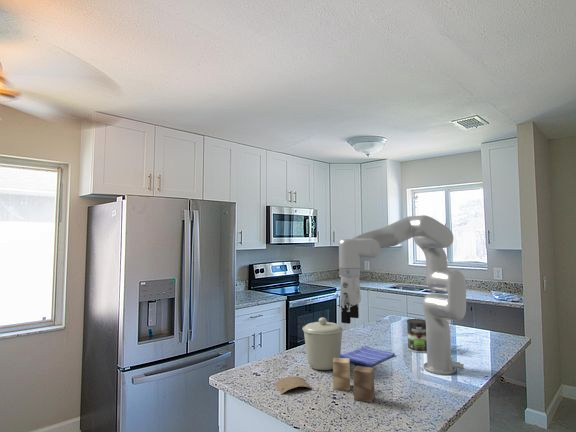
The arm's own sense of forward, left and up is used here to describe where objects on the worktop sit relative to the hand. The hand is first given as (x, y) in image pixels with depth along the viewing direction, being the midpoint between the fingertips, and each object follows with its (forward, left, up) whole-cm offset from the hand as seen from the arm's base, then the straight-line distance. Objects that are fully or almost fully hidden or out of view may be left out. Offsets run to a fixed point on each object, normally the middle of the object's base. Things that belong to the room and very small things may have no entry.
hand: (350, 320), depth 131 cm
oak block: (+5, -5, -26) cm, 27 cm away
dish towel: (+5, -42, -27) cm, 50 cm away
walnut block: (-5, +1, -26) cm, 27 cm away
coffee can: (-16, -64, -26) cm, 71 cm away
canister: (+19, -23, -26) cm, 40 cm away
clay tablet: (+22, +2, -27) cm, 35 cm away
